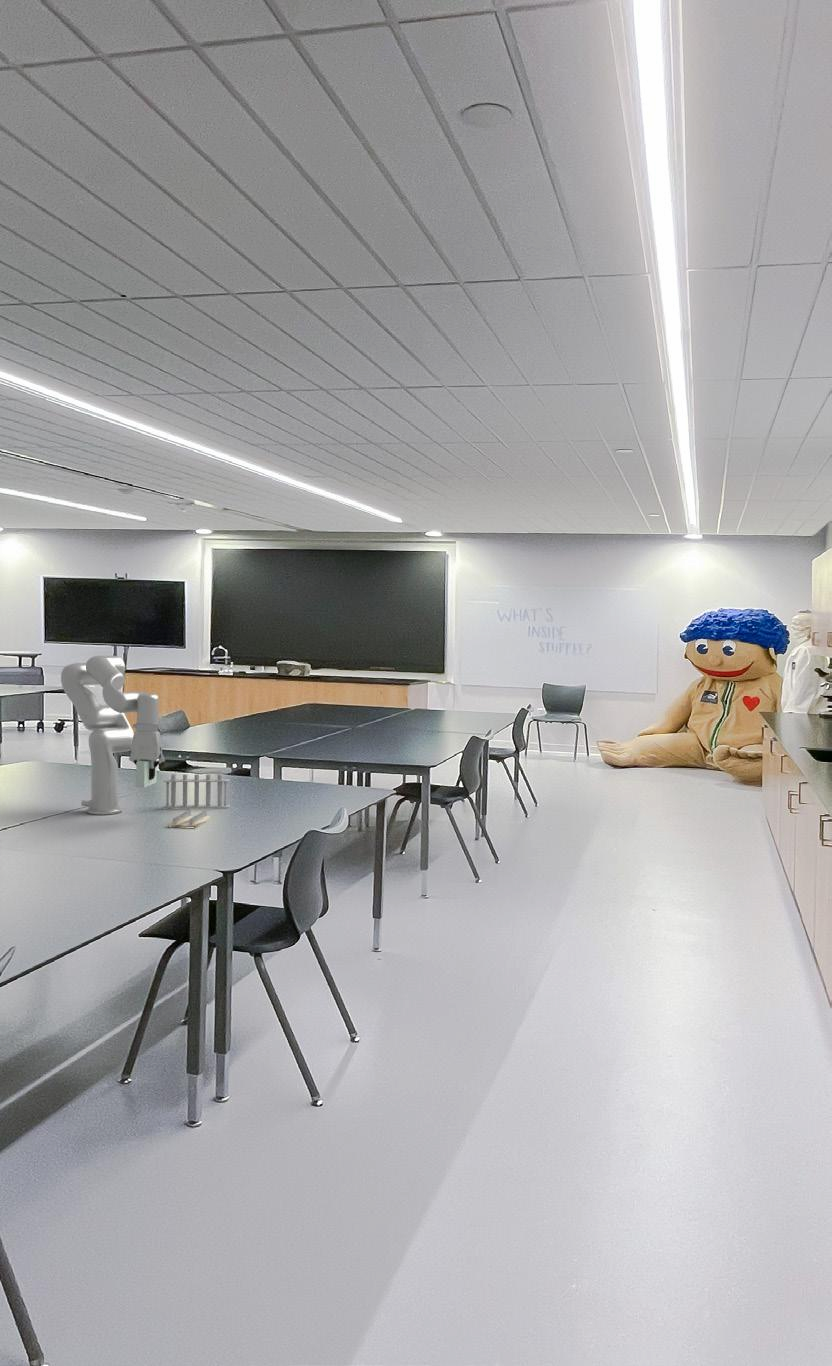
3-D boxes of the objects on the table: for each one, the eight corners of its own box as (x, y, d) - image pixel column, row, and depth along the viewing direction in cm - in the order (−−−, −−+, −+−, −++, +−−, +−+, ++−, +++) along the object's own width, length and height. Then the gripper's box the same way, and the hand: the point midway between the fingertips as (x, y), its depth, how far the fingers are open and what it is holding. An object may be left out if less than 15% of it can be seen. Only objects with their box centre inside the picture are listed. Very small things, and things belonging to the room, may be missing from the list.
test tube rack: (229, 806, 390) (229, 773, 389) (228, 809, 385) (229, 775, 385) (164, 807, 386) (164, 773, 386) (163, 809, 382) (163, 775, 381)
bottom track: (167, 827, 347) (167, 819, 347) (185, 817, 365) (185, 809, 365) (195, 828, 346) (195, 820, 346) (211, 819, 364) (211, 810, 364)
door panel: (135, 787, 351) (136, 762, 350) (148, 781, 363) (149, 757, 362) (144, 787, 350) (144, 762, 350) (156, 782, 362) (157, 757, 362)
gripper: (121, 728, 352) (120, 779, 353) (165, 730, 351) (164, 781, 352) (129, 725, 360) (128, 776, 361) (173, 728, 358) (172, 778, 359)
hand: (146, 778), depth 356 cm, fingers closed on door panel, 3 cm apart
